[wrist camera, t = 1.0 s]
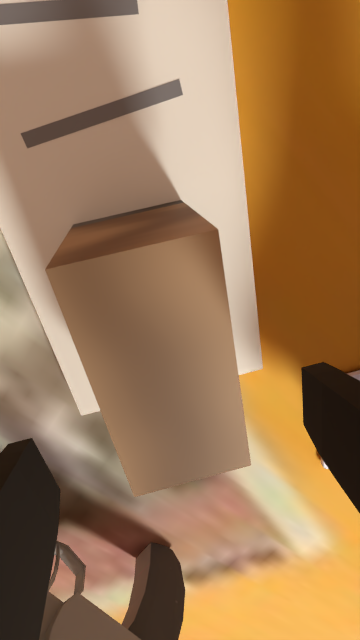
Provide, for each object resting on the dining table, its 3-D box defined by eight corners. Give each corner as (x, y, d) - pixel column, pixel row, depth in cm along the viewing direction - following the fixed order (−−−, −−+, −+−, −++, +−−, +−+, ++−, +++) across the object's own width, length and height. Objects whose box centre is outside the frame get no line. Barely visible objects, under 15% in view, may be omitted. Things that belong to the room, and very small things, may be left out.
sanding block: (181, 200, 14) (218, 228, 9) (212, 373, 18) (251, 465, 13) (73, 224, 14) (45, 269, 9) (130, 395, 18) (134, 497, 13)
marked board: (170, -402, 9) (179, -499, 8) (253, 354, 20) (262, 368, 19) (-226, -352, 8) (-291, -446, 7) (83, 397, 19) (81, 415, 18)
